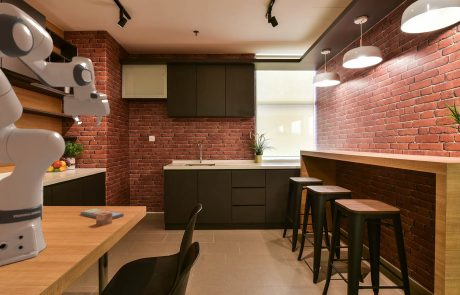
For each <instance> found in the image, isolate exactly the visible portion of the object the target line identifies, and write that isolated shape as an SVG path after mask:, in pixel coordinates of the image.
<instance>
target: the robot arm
mask: <svg viewBox="0 0 460 295" xmlns="http://www.w3.org/2000/svg"><path fill="white" fill-rule="evenodd" d="M53 43H54V42H53V39H52V37H51V34H50V33H49V32H48V31H47V30H46V29H45V28H44V27H43V26H42V25H41V24H40V23H38V22H37V21H36V20H35V19H34V18H33V17H31V16H30V15H29V14H28V13H26V12H25V11H24V10H22V9H20V8H19V7H17V6H16V5H14V4H12V3H7V2H0V58H6V57H7V58H8V57H9V58H17V59H18V60H19V61H20V62H21V63H22V64H23V65H24V66H25V67H27V69H28V70H29V71H31V73H33V74H34V76H36V77H37V79H38V81H39V82H40V83H41V84H42V85H43V86H44V87H47V88H59V87H60V88H63V87H64V88H73V94H66V95H64V96H63V113H64V115H66V116H67V115H69V116H72V119H73V120H74V122H75V125H76V126H79V125H82V120H80V119H79V118H78V117H79V116H96V118H97V120H96V121H95V126H100V125H101V121H102V120H103V117H105V116H109V115H110V113H111V109H110V103H109V100H107V99H108V94H106V93H103V92H100V91H98V90H97V89H96V84H95V80H96V76H95V69H94V66H93V62H92V60H91V59H90V58H88V57H84V56H73V57H72V58H71V61H70V62H50V61H49V62H48V61H44V60H46V59H47V58H49V56H51V54H52V52H53V50H54V44H53ZM23 108H24V107H23V106H22V103H21V102H20V99H19V97H17V95H16V92H15V90H14V89H13V86H12V84H11V83H10V81H9V80H8V77H7V76H6V75H5V73H4V72H3V71H2V69H1V68H0V164H15V165H14V168H13V171H12V172H11V173H10V174H9V175H8V176H5V177H3V178H1V179H0V267H1V266H4V265H7V264H12V263H16V262H20V261H24V260H28V259H31V258H35V257H37V256H38V254H39V253H40V252H41V251H43V250H44V249H45V248H46V247H47V244H46V241H45V238H44V235H43V233H44V232H43V228H42V221H43V217H42V204H41V187H42V180H43V181H44V177H45V174H46V173H47V171H48V170H49V168H50V167H51V166H52V165H53V164H54V163H55V162H57V161H58V160H60V159H61V158H62V156H64V153H65V151H66V142H65V139H64V138H63V136H62V135H61V134H60V133H59V132H58V131H57V132H56V131H53V130H49V129H44V128H43V129H42V128H19V127H17V126H16V125H15V123H16V122H17V121H18V120H20V118H21V117H22V114H23V111H24V110H23Z"/></svg>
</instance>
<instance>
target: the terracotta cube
mask: <svg viewBox="0 0 460 295" xmlns="http://www.w3.org/2000/svg"><path fill="white" fill-rule="evenodd" d="M95 220H96V222H95V224H96V225H98V226H107V225H111V224H113V219H112V213H109V212H103V213H98V214H96V218H95Z"/></svg>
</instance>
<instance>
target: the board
mask: <svg viewBox="0 0 460 295" xmlns="http://www.w3.org/2000/svg"><path fill="white" fill-rule="evenodd" d="M103 212H109V213H112V220H114V219H118V218H122V217H124V213H122V212H117V211H116V212H115V211H111V210H107V209H101V208H92V209H91V208H90V209H86V210H82V211H81V212H80V215H81V216H85V217H88V218H94V219H96V214H98V213H103Z"/></svg>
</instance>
